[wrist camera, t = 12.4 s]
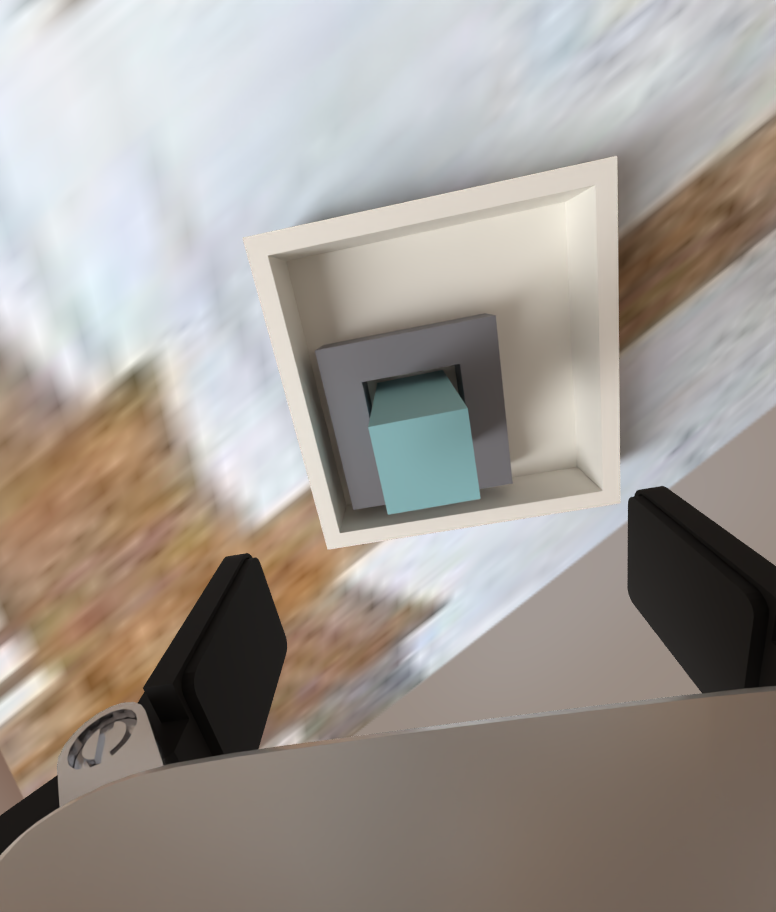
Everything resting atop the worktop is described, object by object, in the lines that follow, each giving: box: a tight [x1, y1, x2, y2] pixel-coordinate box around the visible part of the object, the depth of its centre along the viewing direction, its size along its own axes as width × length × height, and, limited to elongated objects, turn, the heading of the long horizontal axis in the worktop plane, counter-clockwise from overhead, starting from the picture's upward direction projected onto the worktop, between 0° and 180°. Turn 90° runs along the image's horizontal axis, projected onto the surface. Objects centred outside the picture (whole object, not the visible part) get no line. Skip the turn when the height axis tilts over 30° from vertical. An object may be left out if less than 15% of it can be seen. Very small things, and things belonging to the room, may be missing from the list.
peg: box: [368, 370, 481, 515], centre depth 23 cm, size 4×4×10 cm
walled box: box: [243, 156, 620, 549], centre depth 26 cm, size 18×18×4 cm
